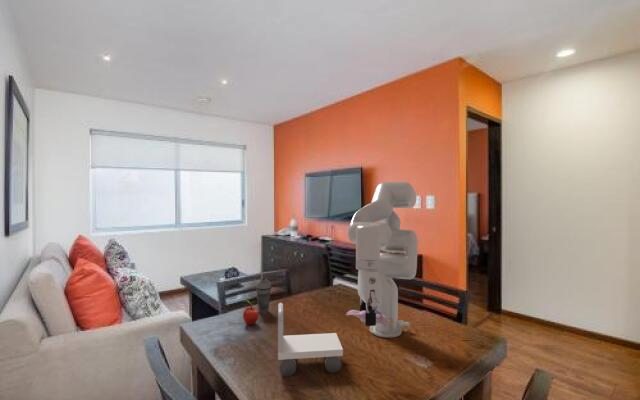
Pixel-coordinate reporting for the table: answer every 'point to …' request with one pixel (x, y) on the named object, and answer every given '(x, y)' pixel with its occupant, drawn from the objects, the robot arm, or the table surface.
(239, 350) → the table surface
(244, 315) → the apple
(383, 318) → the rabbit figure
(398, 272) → the robot arm
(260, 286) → the beverage cup
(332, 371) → the trolley
